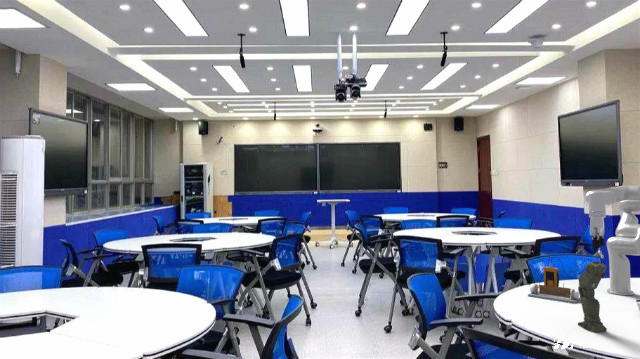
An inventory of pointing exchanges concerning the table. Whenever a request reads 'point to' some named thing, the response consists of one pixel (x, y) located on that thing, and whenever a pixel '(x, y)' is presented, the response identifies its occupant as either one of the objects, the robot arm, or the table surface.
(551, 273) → the multimeter
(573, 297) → the pipe run
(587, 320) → the mechanical leg
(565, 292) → the wood plank
